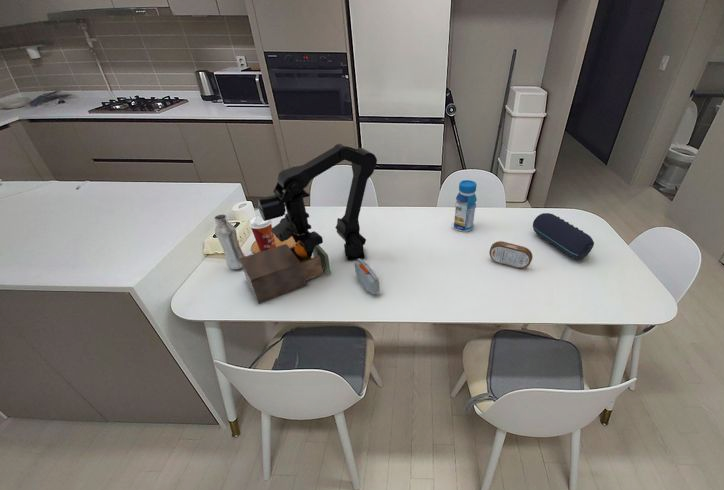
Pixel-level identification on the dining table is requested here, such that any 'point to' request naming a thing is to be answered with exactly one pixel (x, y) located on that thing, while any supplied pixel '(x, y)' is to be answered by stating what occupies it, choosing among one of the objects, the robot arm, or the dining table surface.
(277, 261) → the cabinet
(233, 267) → the plastic bottle
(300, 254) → the orange
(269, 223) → the paper cup
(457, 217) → the beverage bottle
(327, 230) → the dining table surface
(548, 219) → the portable speaker
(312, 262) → the drawer
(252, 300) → the dining table surface
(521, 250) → the tin
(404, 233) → the dining table surface
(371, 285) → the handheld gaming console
